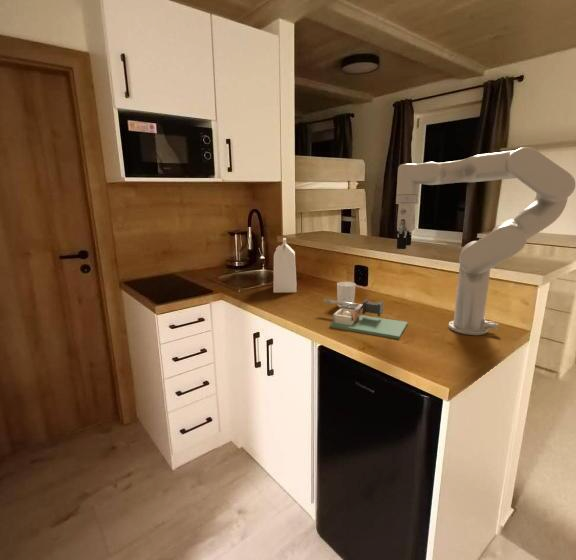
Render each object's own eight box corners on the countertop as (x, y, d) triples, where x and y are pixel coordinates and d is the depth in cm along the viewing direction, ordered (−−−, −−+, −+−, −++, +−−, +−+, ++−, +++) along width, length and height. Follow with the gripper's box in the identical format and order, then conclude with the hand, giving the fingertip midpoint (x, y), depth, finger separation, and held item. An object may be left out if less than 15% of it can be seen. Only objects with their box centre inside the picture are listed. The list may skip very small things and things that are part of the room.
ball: (341, 312, 139) (346, 320, 139) (338, 314, 136) (343, 323, 136) (349, 308, 137) (354, 316, 137) (346, 311, 134) (351, 319, 134)
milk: (296, 292, 178) (296, 240, 172) (273, 292, 179) (272, 240, 172) (296, 286, 190) (296, 237, 184) (274, 286, 190) (273, 237, 184)
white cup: (340, 309, 152) (341, 287, 149) (333, 304, 159) (334, 282, 157) (357, 308, 154) (358, 285, 151) (350, 302, 161) (350, 281, 159)
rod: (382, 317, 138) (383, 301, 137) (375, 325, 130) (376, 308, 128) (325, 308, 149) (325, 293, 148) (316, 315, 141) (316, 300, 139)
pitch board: (407, 324, 134) (408, 313, 133) (399, 339, 121) (400, 326, 120) (343, 314, 146) (343, 304, 144) (330, 327, 133) (330, 315, 132)
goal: (357, 317, 139) (358, 310, 138) (350, 325, 131) (350, 317, 131) (340, 315, 142) (340, 307, 141) (332, 322, 135) (332, 314, 134)
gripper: (413, 200, 120) (410, 251, 124) (421, 199, 135) (418, 244, 139) (391, 200, 123) (388, 249, 128) (401, 199, 138) (398, 243, 142)
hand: (403, 246), depth 133 cm, fingers open, 9 cm apart
